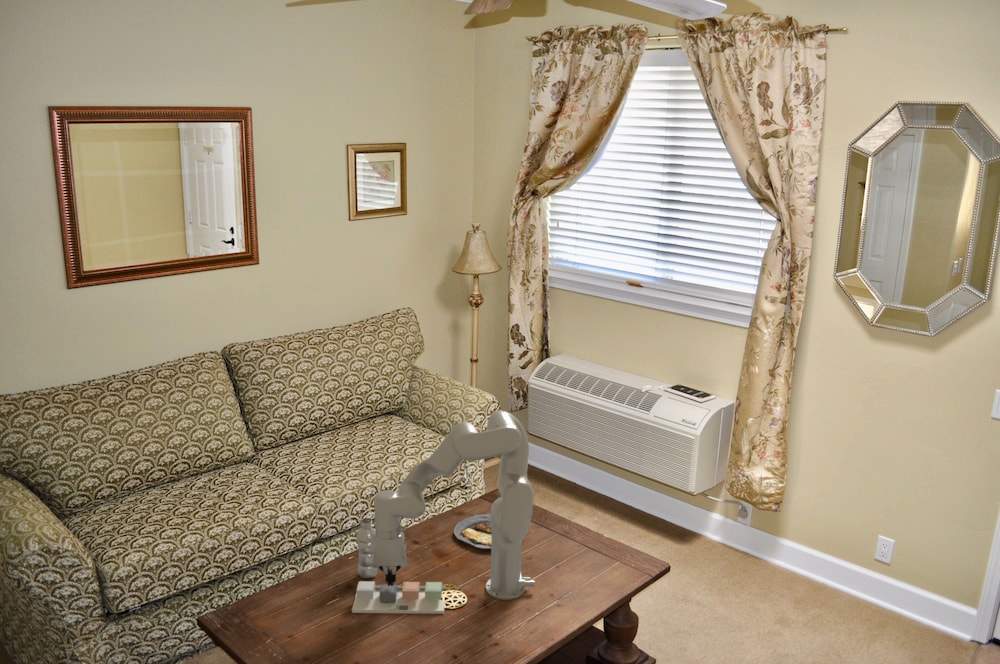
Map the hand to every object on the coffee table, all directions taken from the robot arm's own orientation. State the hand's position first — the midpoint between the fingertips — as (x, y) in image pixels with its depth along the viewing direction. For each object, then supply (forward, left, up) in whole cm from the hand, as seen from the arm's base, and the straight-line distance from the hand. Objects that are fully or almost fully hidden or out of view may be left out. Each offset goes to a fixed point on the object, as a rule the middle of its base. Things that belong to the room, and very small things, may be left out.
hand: (391, 583), depth 259 cm
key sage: (-13, 0, -4) cm, 14 cm away
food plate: (-31, -41, -7) cm, 52 cm away
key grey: (+8, 0, -4) cm, 9 cm away
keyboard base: (-3, 0, -6) cm, 7 cm away
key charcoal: (+1, 0, -5) cm, 5 cm away
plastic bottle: (+9, -14, -7) cm, 18 cm away
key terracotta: (-6, 0, -4) cm, 7 cm away
